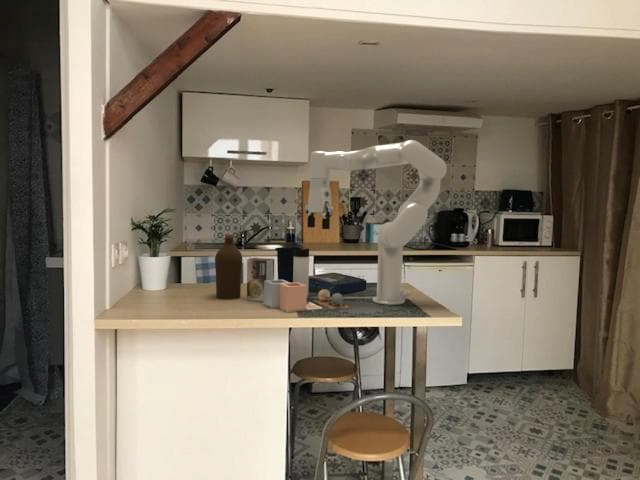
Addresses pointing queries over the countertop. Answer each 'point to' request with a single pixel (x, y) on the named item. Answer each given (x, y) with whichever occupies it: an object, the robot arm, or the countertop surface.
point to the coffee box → (258, 277)
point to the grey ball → (337, 299)
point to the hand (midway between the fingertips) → (318, 228)
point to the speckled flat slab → (330, 304)
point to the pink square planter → (292, 297)
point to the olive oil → (228, 270)
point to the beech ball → (324, 295)
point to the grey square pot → (272, 292)
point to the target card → (312, 306)
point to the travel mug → (301, 267)
